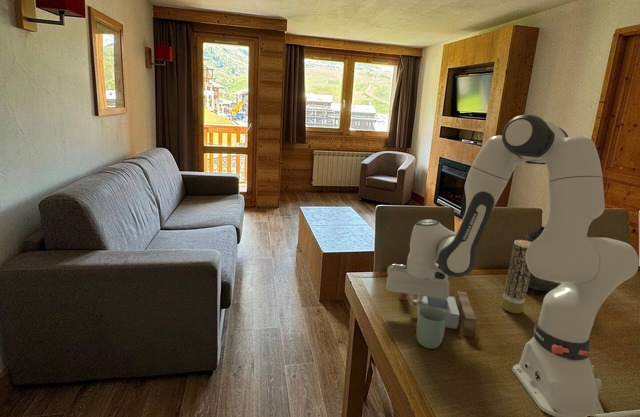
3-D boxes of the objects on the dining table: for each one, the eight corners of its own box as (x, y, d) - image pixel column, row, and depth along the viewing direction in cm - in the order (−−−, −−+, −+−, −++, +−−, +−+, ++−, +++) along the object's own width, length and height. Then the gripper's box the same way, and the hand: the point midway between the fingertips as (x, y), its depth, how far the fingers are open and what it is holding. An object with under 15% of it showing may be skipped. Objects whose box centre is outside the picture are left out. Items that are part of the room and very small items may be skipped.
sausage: (407, 300, 135) (410, 277, 133) (398, 299, 136) (401, 276, 133) (407, 296, 138) (409, 274, 136) (398, 295, 139) (401, 273, 136)
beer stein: (531, 275, 163) (543, 220, 157) (573, 297, 145) (588, 236, 139) (501, 279, 158) (512, 222, 151) (540, 301, 140) (555, 238, 134)
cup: (437, 356, 105) (442, 324, 103) (410, 345, 109) (415, 315, 107) (444, 342, 112) (449, 312, 109) (419, 333, 116) (423, 304, 113)
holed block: (457, 328, 119) (459, 314, 118) (418, 322, 121) (420, 309, 120) (452, 309, 131) (454, 297, 129) (416, 304, 133) (418, 291, 131)
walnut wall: (473, 336, 116) (476, 319, 114) (462, 335, 116) (465, 317, 115) (463, 307, 133) (466, 292, 131) (454, 306, 133) (457, 291, 132)
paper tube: (524, 315, 130) (540, 248, 123) (503, 312, 131) (517, 245, 124) (519, 306, 136) (533, 241, 130) (499, 303, 137) (512, 238, 131)
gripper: (388, 266, 121) (382, 304, 125) (453, 276, 118) (446, 315, 122) (388, 259, 127) (383, 296, 131) (450, 268, 124) (444, 305, 128)
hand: (414, 305), depth 126 cm, fingers closed
